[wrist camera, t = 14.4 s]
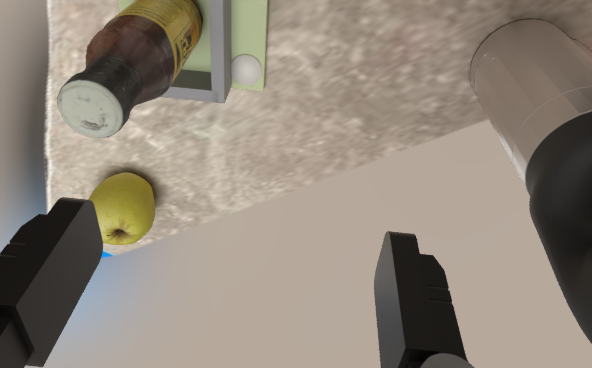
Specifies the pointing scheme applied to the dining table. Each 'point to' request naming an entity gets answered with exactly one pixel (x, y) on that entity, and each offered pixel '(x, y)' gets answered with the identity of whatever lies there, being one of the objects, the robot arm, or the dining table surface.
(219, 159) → the dining table surface
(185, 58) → the sauce bottle
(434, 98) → the dining table surface
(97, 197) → the apple
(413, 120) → the dining table surface
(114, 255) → the dining table surface
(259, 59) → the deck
